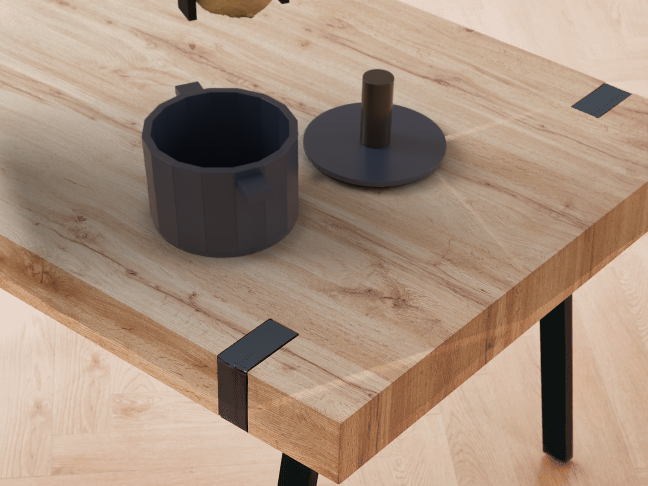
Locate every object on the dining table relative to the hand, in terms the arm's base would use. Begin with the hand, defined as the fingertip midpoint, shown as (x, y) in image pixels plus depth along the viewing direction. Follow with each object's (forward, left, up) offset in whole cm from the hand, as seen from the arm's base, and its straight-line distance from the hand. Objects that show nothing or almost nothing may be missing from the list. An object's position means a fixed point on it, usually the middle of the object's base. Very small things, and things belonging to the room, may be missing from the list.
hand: (234, 5), depth 96 cm
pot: (-3, -4, -19) cm, 20 cm away
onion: (0, 0, 0) cm, 0 cm away
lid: (+15, 0, -18) cm, 24 cm away
